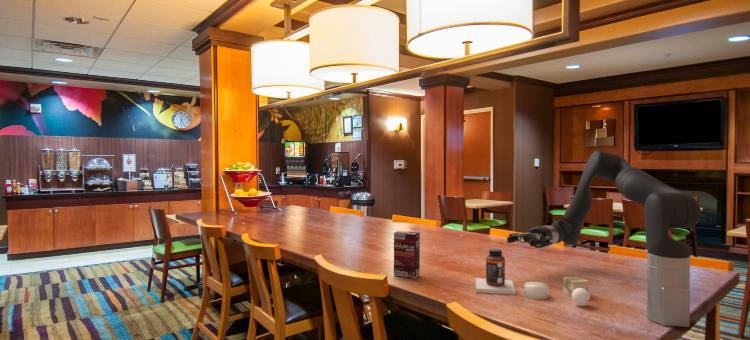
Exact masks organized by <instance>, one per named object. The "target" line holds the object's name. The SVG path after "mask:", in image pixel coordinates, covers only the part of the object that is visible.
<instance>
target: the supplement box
mask: <svg viewBox="0 0 750 340" xmlns="http://www.w3.org/2000/svg"><path fill="white" fill-rule="evenodd" d="M420 233H421V232H419V231H418V232H417V231H405V230H404V231H403V230H397V231H395V232H393V276H394V277H399V276H402V278H407V277H411V278H410V279H414V278H415V279H417V278H418V277H419V276H420V268H421V267H420V262H421V261H420V256H421V255H420V253H421V252H420V251H421V249H420V248H421V241H420V240H421V234H420ZM416 277H417V278H416Z"/></svg>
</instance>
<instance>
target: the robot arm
mask: <svg viewBox="0 0 750 340" xmlns="http://www.w3.org/2000/svg"><path fill="white" fill-rule="evenodd" d="M587 159H588V160H587V162H586V163H585V167H584V169H583V172H582V175H581V177H580V180H579V183H578V186H577V188H576V191H575V193H574V195H573V198H572V199H571V201H570V203H569V205H568V206H567V209H566V210H565V212H564V214H563V215H564V218H565V219H562V218H559V219H557V220H555V221H554V222H553V223H552V224H549V225H540V226H536V227H532V228H531V229H529V231H528V232H519V231H518V232H514V233H509V234H508V236H507V237H506V242H507V243H508V244H511V243H519V244H528V245H529V247H533V248H536V249H543V248H546V247H550V246H553V245H555V244H559V243H561V242H563V244H565V245H567V246H572V245H574V244H576V243H577V242H578V241H579V239H580V236H581V233H582V227H583V223H584V221H585V219H586V217H588V214H589V213H590V211H591V209H592V204H593V199H592V191H591V185H592V182H593V180H594V179H595V178H599V179H603V180H607V181H610V182H614V184H615V188H616V190H617V191H618V192H619V193H620V194H621V195H622V196H623V197H625V198H626V199H627V200H629V201H631V202H633V203H636V204H638V205H641V206H644V222H645V223H644V224H645V241H646V247H647V249H646V250H647V257H646V260H647V261H646V318H648V320H650V321H652V322H654V323H657V324H659V325H661V326H664V327H665V326H669V327H670V326H671V327H683V328H690V327H691V326H690V322H691V319H690V318H691V317H690V315H691V313H690V312H691V280H690V279H691V248H690V247H691V246H690V245H689V244H687V243H685V242H682V241H679V240H676V239H674V238H673V237H671V236H670V234H669V229H689V228H692V227H694V226H696V225H697V224H698V223H699V222H700V220H701V219H702V210H701V206H700V204H699V202H698V201H697V200H696V198H695V197H693V196H692V195H691V194H689V193H687V192H685V191H683V190H680V189H676V188H674V187H672V186H669V185H668V184H666V183H664V182H662V181H661V180H659V179H657V178H655V177H653V176H652V175H650V174H649V173H648V172H645V171H644V170H643V169H639V168H638V167H635V166H633V165H632V164H630V163H629V162H628V161H627V160H626V159H625V158H623V157H622V156H620V155H618V154H614V153H610V152H608V151H602V150H596V151H593V153H592V154H591V155H590V156H589V158H587Z"/></svg>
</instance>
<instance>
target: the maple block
mask: <svg viewBox="0 0 750 340" xmlns="http://www.w3.org/2000/svg"><path fill="white" fill-rule="evenodd" d="M562 282H563V283H562V284H563V286H562V287H563V289H562V290H563V292H562V293H563V294H564V295H567V296H569V297H571V298H572V292H573V291H574V290H575V289H577V288H583V289H585V290H587V291H588V292H589V280H587V279H584V278H582V277H580V276H566V277H563V280H562Z"/></svg>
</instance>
